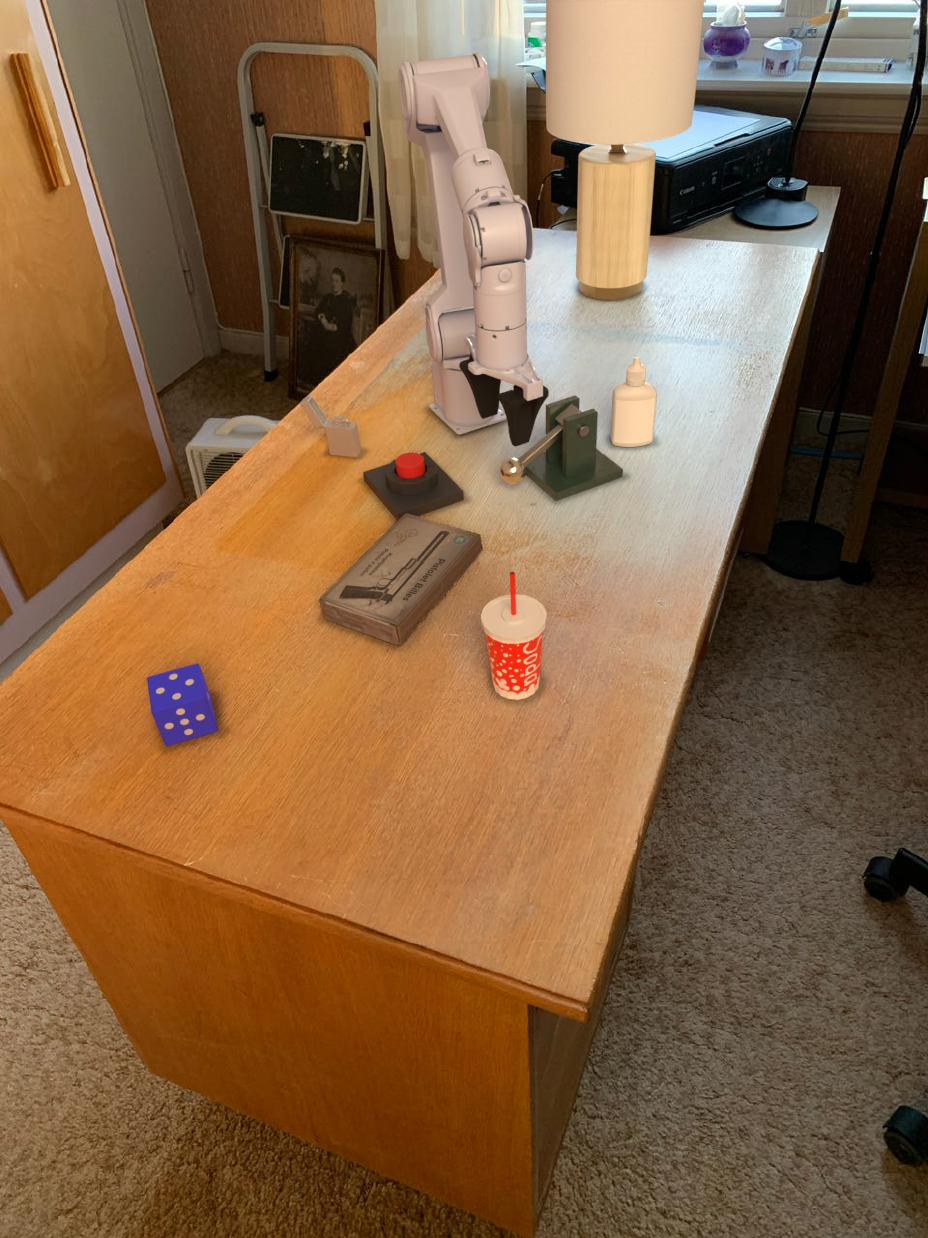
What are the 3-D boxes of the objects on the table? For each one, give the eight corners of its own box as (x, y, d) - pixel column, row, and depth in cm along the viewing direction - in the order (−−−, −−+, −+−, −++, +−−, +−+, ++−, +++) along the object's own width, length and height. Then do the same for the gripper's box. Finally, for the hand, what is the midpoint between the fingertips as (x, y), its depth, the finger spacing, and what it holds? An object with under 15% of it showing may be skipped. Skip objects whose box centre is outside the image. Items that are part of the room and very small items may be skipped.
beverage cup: (501, 713, 88) (495, 603, 78) (475, 673, 92) (466, 564, 82) (558, 692, 89) (559, 582, 80) (529, 653, 93) (527, 544, 84)
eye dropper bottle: (645, 453, 120) (652, 369, 112) (605, 444, 122) (609, 361, 114) (656, 437, 123) (664, 353, 115) (617, 429, 125) (622, 346, 117)
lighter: (361, 450, 125) (353, 397, 120) (357, 457, 124) (348, 404, 119) (314, 445, 127) (303, 393, 122) (309, 452, 126) (298, 400, 120)
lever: (514, 493, 113) (503, 477, 111) (501, 481, 115) (491, 465, 113) (591, 427, 113) (582, 410, 111) (577, 416, 115) (568, 399, 113)
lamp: (586, 255, 173) (595, -31, 143) (698, 276, 162) (732, -28, 133) (521, 298, 160) (515, -6, 130) (638, 325, 149) (661, 0, 119)
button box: (364, 480, 119) (361, 459, 117) (425, 460, 122) (423, 439, 120) (399, 522, 112) (396, 501, 110) (464, 499, 115) (462, 478, 113)
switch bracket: (555, 501, 113) (556, 435, 107) (519, 468, 119) (517, 404, 113) (622, 476, 116) (626, 411, 110) (583, 445, 123) (585, 382, 116)
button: (392, 469, 116) (390, 457, 115) (417, 461, 117) (416, 449, 116) (404, 482, 113) (402, 470, 112) (430, 473, 115) (428, 462, 113)
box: (484, 553, 105) (482, 531, 103) (401, 648, 95) (397, 626, 93) (408, 531, 110) (404, 509, 108) (321, 619, 99) (315, 597, 97)
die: (218, 732, 88) (205, 696, 85) (166, 747, 87) (150, 712, 84) (211, 697, 92) (198, 661, 88) (161, 711, 91) (146, 676, 87)
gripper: (438, 306, 104) (447, 413, 113) (501, 354, 94) (505, 466, 103) (492, 291, 106) (496, 397, 115) (559, 336, 96) (558, 448, 105)
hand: (504, 429), depth 109 cm, fingers open, 7 cm apart
